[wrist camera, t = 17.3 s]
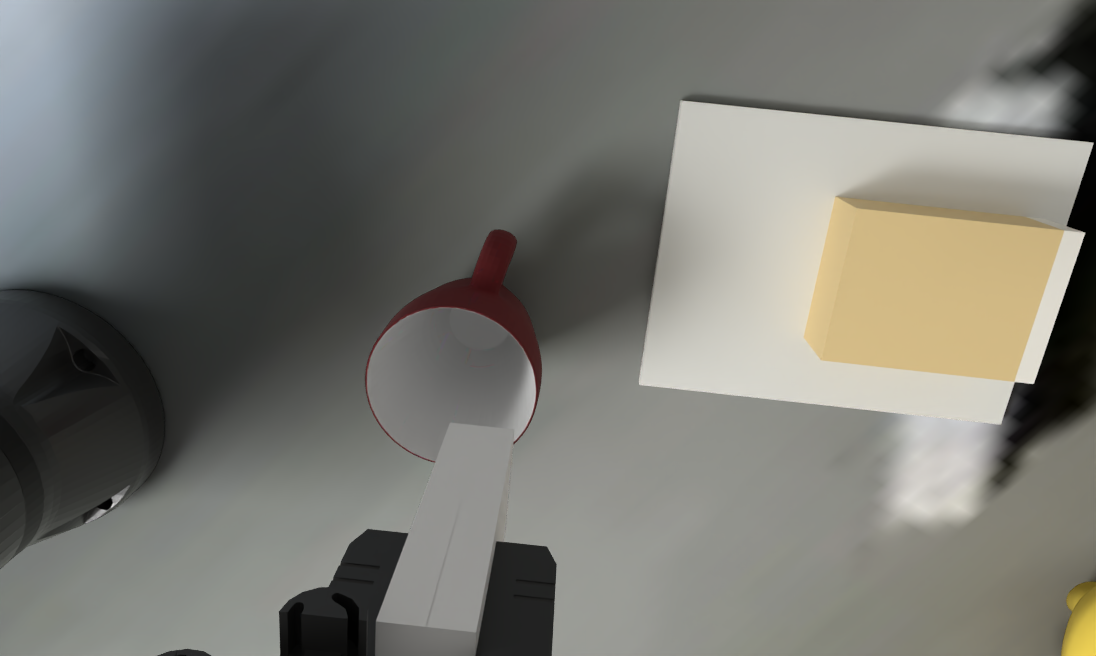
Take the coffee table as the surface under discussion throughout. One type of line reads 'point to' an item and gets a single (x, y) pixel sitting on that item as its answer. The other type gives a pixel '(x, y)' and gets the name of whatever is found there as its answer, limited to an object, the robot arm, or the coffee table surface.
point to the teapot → (1081, 621)
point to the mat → (817, 246)
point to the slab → (939, 289)
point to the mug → (457, 359)
